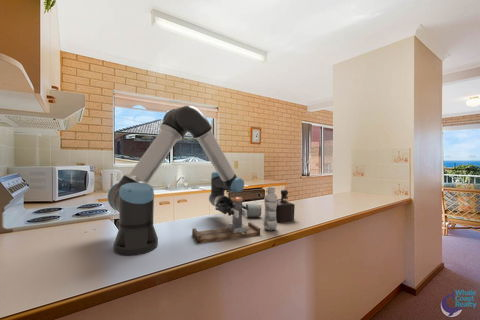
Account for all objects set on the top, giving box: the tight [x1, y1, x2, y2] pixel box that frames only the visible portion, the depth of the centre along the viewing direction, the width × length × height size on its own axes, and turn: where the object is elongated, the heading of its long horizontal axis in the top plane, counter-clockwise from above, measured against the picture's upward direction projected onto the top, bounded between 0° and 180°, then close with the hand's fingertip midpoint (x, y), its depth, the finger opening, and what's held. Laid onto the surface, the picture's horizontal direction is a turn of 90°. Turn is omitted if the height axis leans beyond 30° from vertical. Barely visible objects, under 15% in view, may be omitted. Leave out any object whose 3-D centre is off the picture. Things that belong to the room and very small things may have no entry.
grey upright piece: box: [227, 196, 246, 233], centre depth 102 cm, size 6×7×15 cm
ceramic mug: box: [245, 203, 262, 218], centre depth 133 cm, size 11×8×8 cm
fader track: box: [191, 221, 261, 245], centre depth 100 cm, size 28×10×3 cm, turn 114°
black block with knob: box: [276, 189, 296, 223], centre depth 125 cm, size 16×11×18 cm
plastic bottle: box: [262, 187, 279, 231], centre depth 109 cm, size 6×7×20 cm
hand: (242, 214), depth 97 cm, fingers closed on grey upright piece, 3 cm apart
